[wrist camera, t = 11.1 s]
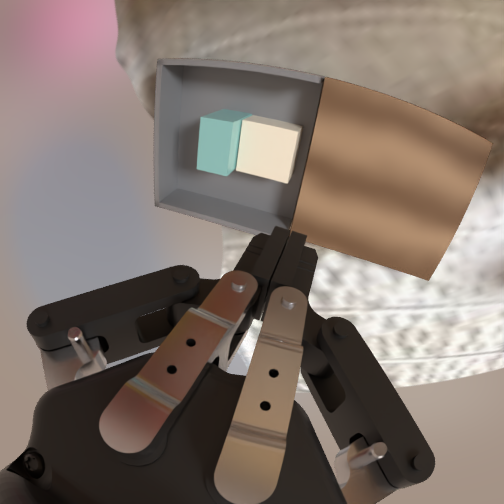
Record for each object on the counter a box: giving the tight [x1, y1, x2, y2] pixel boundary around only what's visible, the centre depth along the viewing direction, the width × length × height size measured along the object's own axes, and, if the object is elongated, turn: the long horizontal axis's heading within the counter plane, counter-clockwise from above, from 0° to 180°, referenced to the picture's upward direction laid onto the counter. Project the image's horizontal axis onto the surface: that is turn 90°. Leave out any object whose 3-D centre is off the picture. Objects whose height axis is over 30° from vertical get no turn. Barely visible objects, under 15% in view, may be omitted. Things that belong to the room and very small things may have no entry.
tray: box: [154, 58, 324, 235], centre depth 27 cm, size 16×15×4 cm
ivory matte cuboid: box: [236, 115, 303, 184], centre depth 26 cm, size 5×5×3 cm
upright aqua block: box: [197, 109, 252, 176], centre depth 26 cm, size 5×5×3 cm
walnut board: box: [290, 77, 493, 281], centre depth 25 cm, size 16×16×3 cm
